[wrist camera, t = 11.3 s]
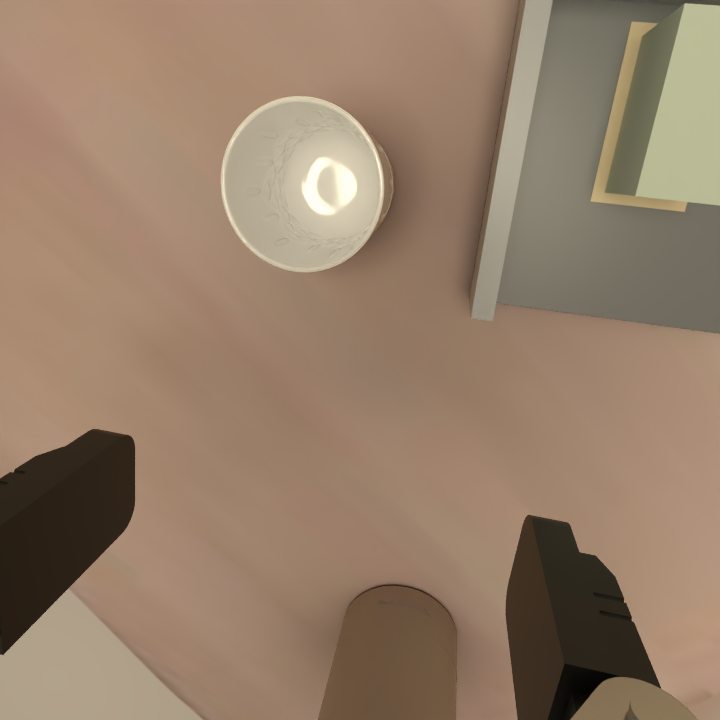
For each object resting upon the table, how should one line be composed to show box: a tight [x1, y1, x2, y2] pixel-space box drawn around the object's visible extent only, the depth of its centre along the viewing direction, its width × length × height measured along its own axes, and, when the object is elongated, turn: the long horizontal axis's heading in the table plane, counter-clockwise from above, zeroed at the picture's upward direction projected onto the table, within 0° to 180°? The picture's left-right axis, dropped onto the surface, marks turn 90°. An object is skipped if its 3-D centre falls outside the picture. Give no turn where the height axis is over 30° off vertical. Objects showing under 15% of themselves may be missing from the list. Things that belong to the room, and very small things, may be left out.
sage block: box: [605, 3, 720, 206], centre depth 28 cm, size 4×8×6 cm, turn 174°
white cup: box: [221, 96, 394, 272], centre depth 31 cm, size 8×8×10 cm
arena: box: [469, 0, 720, 334], centre depth 30 cm, size 18×18×6 cm
